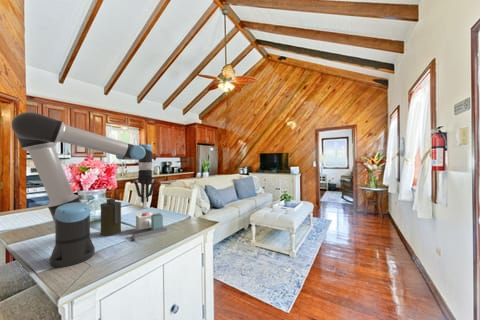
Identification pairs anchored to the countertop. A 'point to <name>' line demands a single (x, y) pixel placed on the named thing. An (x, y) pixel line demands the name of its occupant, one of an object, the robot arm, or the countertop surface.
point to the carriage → (156, 221)
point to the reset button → (145, 214)
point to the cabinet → (143, 221)
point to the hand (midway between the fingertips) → (144, 207)
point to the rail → (147, 233)
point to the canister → (110, 218)
